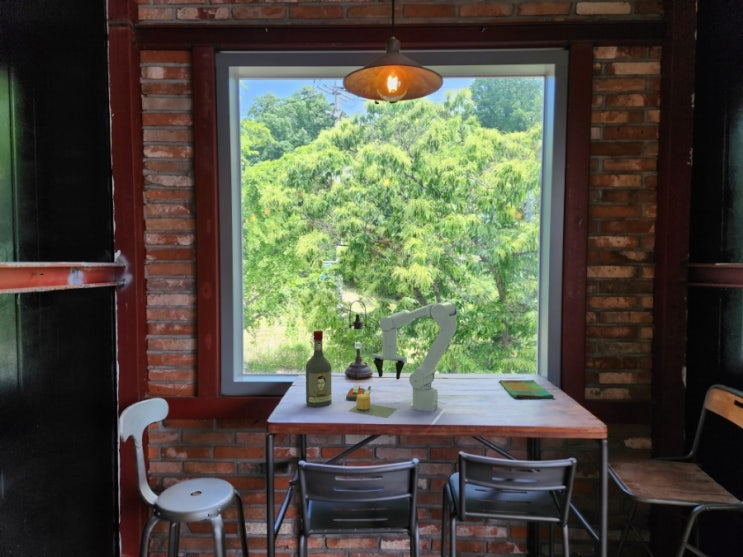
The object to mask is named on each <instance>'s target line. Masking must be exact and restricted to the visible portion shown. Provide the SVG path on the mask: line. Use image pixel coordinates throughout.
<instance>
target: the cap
mask: <svg viewBox="0 0 743 557" xmlns="http://www.w3.org/2000/svg"><path fill="white" fill-rule="evenodd" d="M370 404H371V396H370V393H369V394H358V395H357V401H356V405H357V408H358V409H362V410H365V409H369V408H370Z"/></svg>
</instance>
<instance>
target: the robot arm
mask: <svg viewBox="0 0 743 557" xmlns="http://www.w3.org/2000/svg"><path fill="white" fill-rule="evenodd" d="M458 314H459V312H458V309H457V307H456V304H455V303H454V302H452V301H451V300H450V301H448V300H447V301H444V302H437V303H432V304H427V305H424V306H422V307H421V306H420V307H419V308H417V309H414V310H412V311H409V310H408V309H403V308H402V309H400V310H399V311H397V312H395V313H394V312H392V313H390V315H386V316H383V317H382V318H381V319H380V321H379V327H380V328H381V331H382V334H381V335H382V338H381V340H382V342H381V345H382V353H372V356H371V358H372V360H373V364H374V365H375V368H376V370H377V373H378V377H379V378H382V377H383V375H384V374H383V371H384V370H383V369H384V368H383V367H384V361H390V362H392V361H393V362H395V363H394V364H395V373H396V376H395V379H396V380H400V379H401V373H402V370H403V368H404V366H405V364H406V363H407V361H408V358H407V356H402V355H399V354H397V331H398V328H402V327H405V326H408V325H410V324H412V322H413V320H414V319H418V318H421V317H425V316H428V317H430V318H431V317H432V319H433V320H434V322H435V323H436V325H437V326H438V328H439V332H438V333H437V336H436V337H435V339H434V341H433V343H432V344H431V346H430V348H429V350H428V351H427V354H426V356H425V357H424V359H423V361H422V363H421V364H420V365H418V367H417V368H416V369H415V370H414V372H412V373H411V374H410V375H409V378H408V379H409V380H408V381H409V383H410V386H411V387H412V408H413V409H415V410H417V411H423V412H424V411H427V412H431V413H432V412H435V410H436V409H437V408H438V407H439V406H438V405H439V404H438V400H439V399H438V398H439V394H438V390H437V388H434V387H432V383H433V382H434V380H435V374H436V371H437V369H436V367H437V366H438V364H439V362H440V360H441V358H442V357H443V356H444V353H445V351H446V349H447V348H448V346H449V344H450V342H451V341H452V339H453V337H454V335H455V333H456V332H457V316H458Z"/></svg>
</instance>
